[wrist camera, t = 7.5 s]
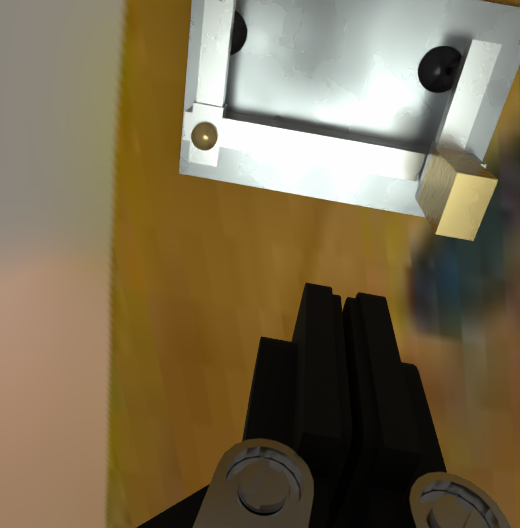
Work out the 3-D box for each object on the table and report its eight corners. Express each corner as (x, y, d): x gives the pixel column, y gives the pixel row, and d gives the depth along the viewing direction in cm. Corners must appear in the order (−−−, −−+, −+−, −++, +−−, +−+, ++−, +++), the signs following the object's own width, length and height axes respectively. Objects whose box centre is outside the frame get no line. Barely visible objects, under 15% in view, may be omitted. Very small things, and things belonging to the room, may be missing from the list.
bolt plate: (200, -47, 26) (178, -59, 21) (530, 11, 26) (575, 10, 21) (183, 167, 31) (163, 192, 27) (453, 215, 31) (476, 248, 27)
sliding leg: (453, 36, 25) (504, 44, 19) (486, 42, 25) (549, 52, 19) (406, 185, 29) (434, 235, 22) (435, 190, 29) (472, 242, 22)
